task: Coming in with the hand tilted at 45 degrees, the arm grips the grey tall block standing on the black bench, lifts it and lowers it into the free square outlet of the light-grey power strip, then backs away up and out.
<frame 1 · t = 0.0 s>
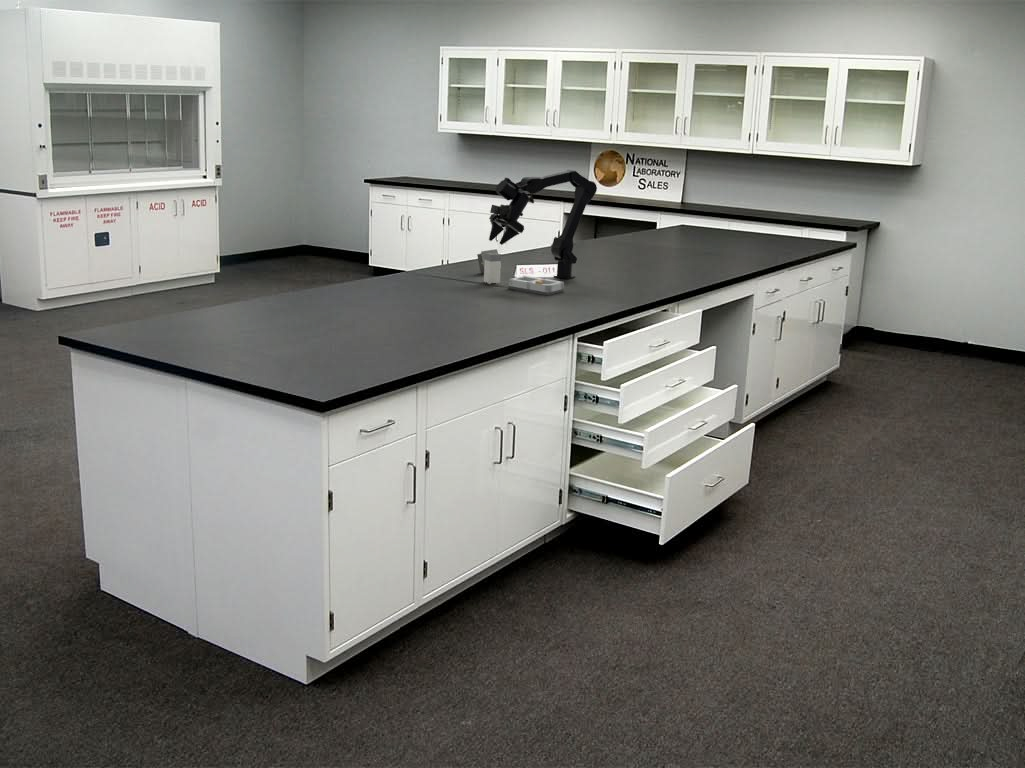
hand: (495, 242, 383), 15 cm above the table, tool tilted 35°, fingers open, 9 cm apart
electrical switch: (488, 273, 405), on the table
grey tall block: (491, 282, 385), on the table
power strip: (535, 289, 374), on the table
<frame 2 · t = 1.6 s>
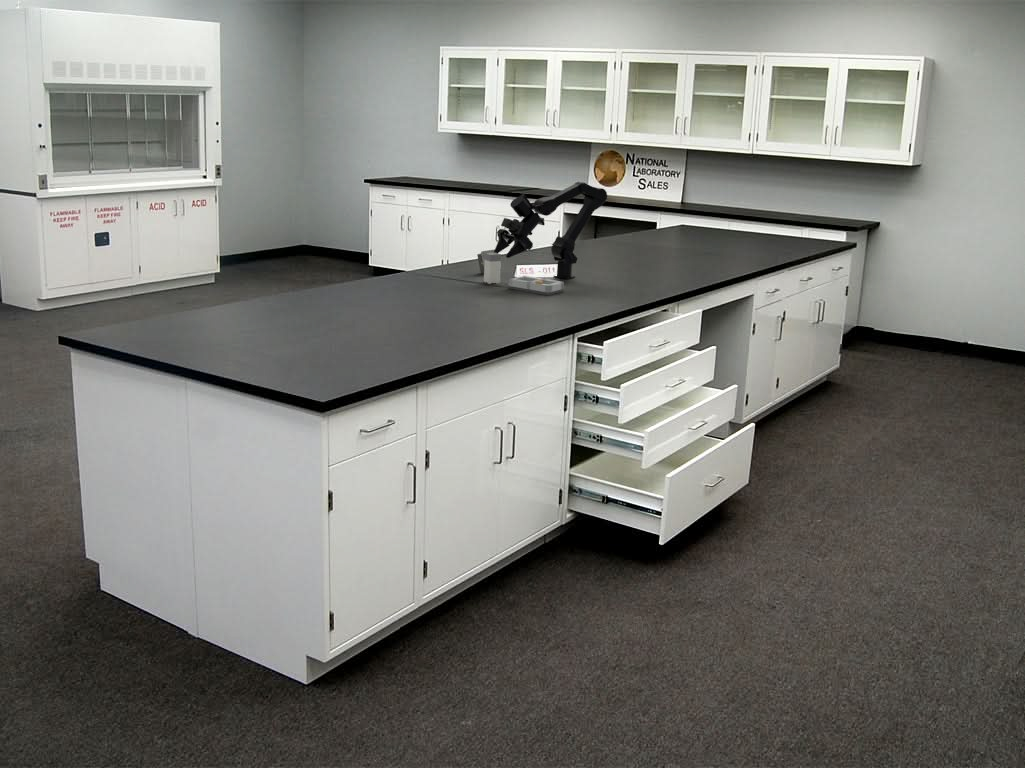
hand: (500, 255, 384), 10 cm above the table, tool tilted 45°, fingers open, 9 cm apart
nothing on the table moved.
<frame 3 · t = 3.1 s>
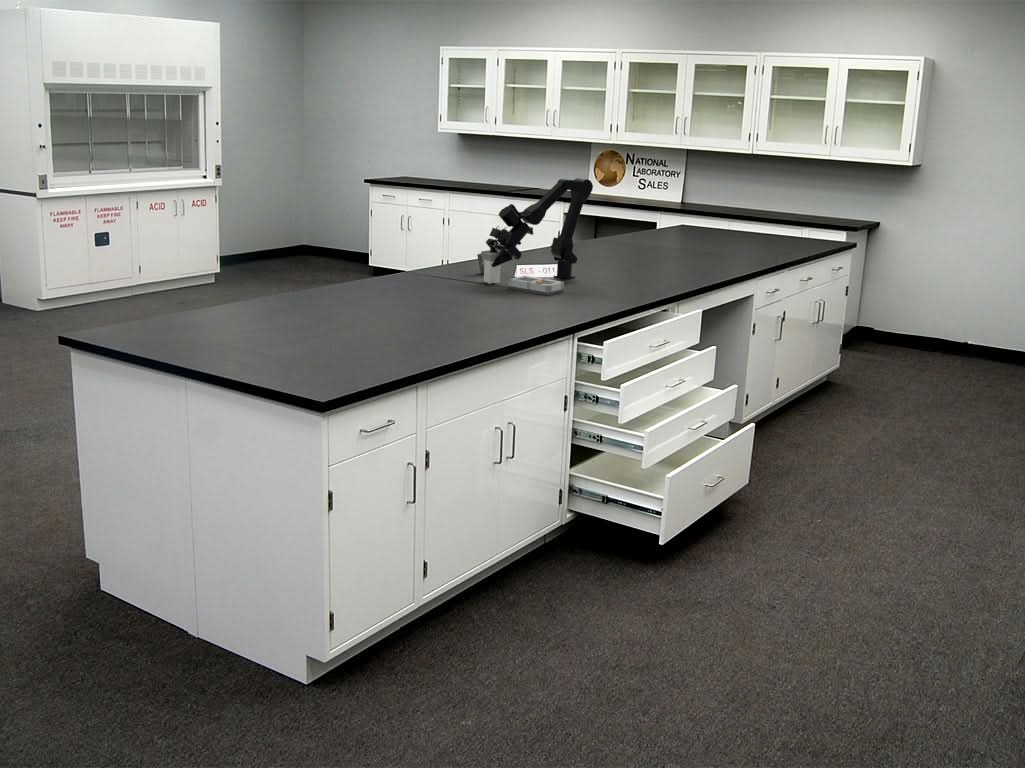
hand: (489, 265, 382), 7 cm above the table, tool tilted 45°, fingers closed on grey tall block, 4 cm apart
grey tall block: (491, 282, 385), on the table, touching gripper
everything else where it was.
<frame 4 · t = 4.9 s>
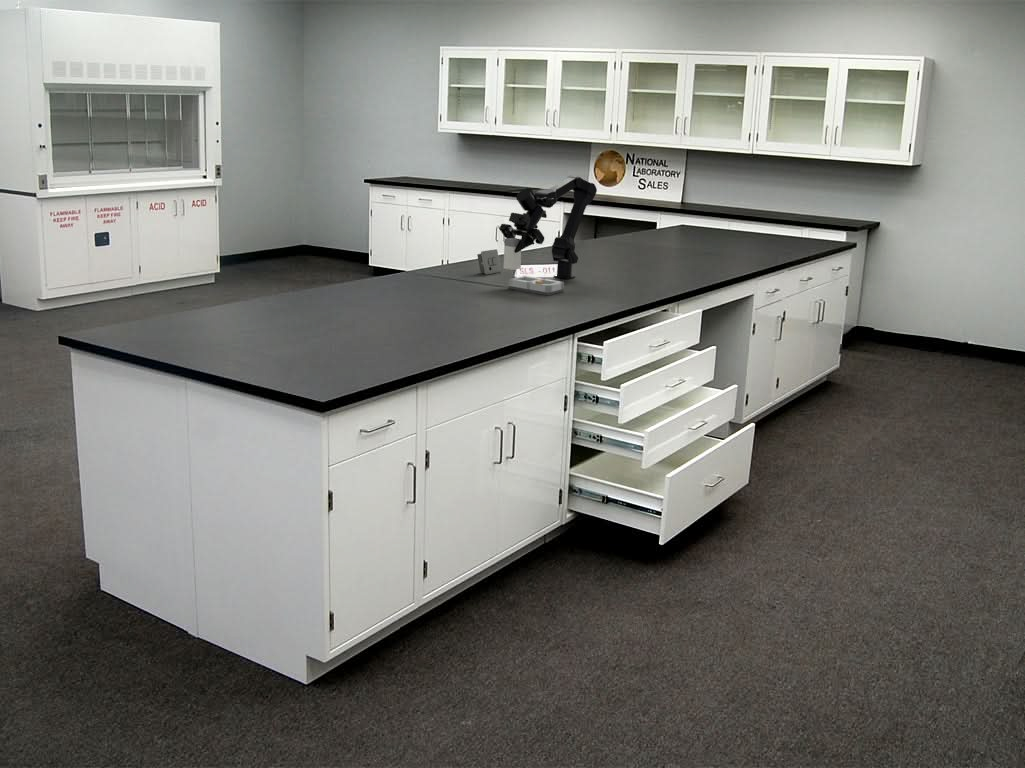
hand: (510, 251, 374), 13 cm above the table, tool tilted 45°, fingers closed on grey tall block, 4 cm apart
grey tall block: (512, 268, 377), point 7 cm above the table, touching gripper
everything else where it was.
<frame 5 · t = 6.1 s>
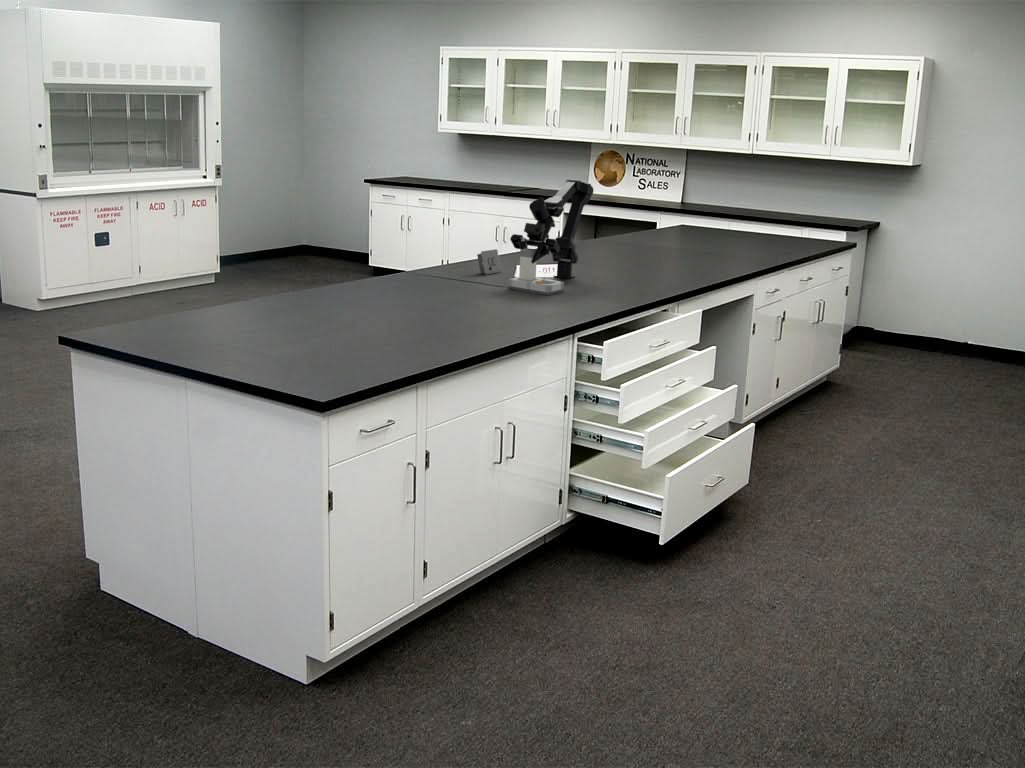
hand: (526, 261, 373), 10 cm above the table, tool tilted 45°, fingers closed on grey tall block, 4 cm apart
grey tall block: (527, 279, 376), point 4 cm above the table, touching gripper
everything else where it was.
when the fingers open (8 cm above the table, at t = 6.8 s): grey tall block stays where it is, resting on power strip.
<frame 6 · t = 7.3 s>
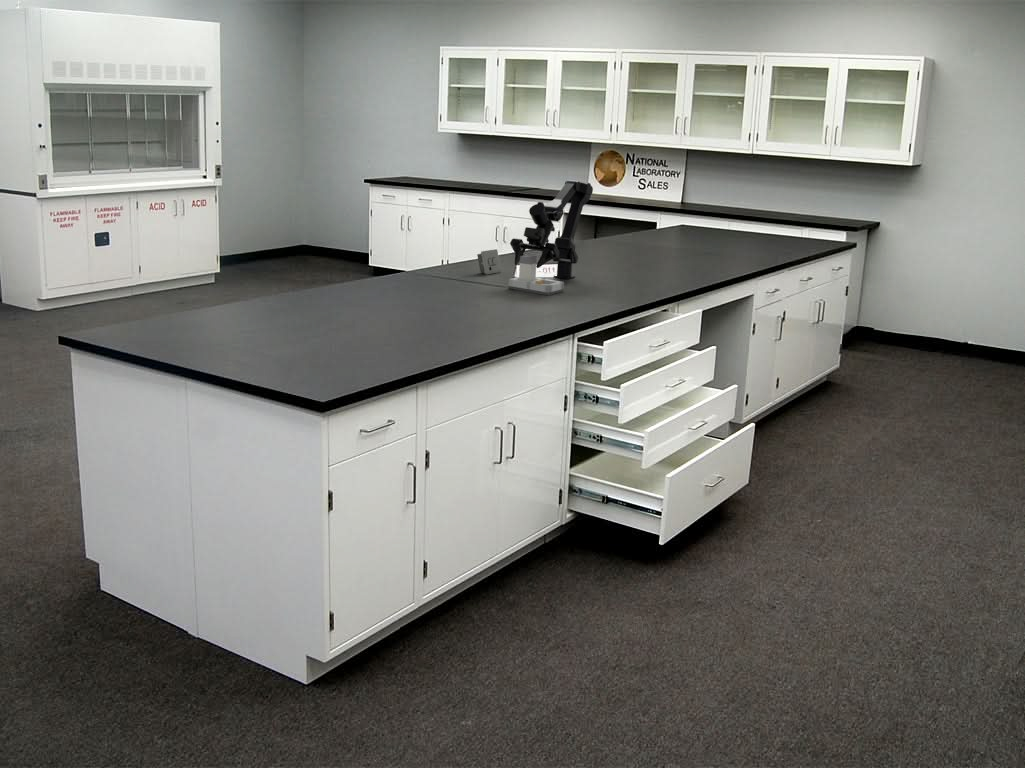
hand: (526, 266, 373), 9 cm above the table, tool tilted 45°, fingers open, 9 cm apart
grey tall block: (527, 285, 376), point 1 cm above the table, touching power strip
everything else where it was.
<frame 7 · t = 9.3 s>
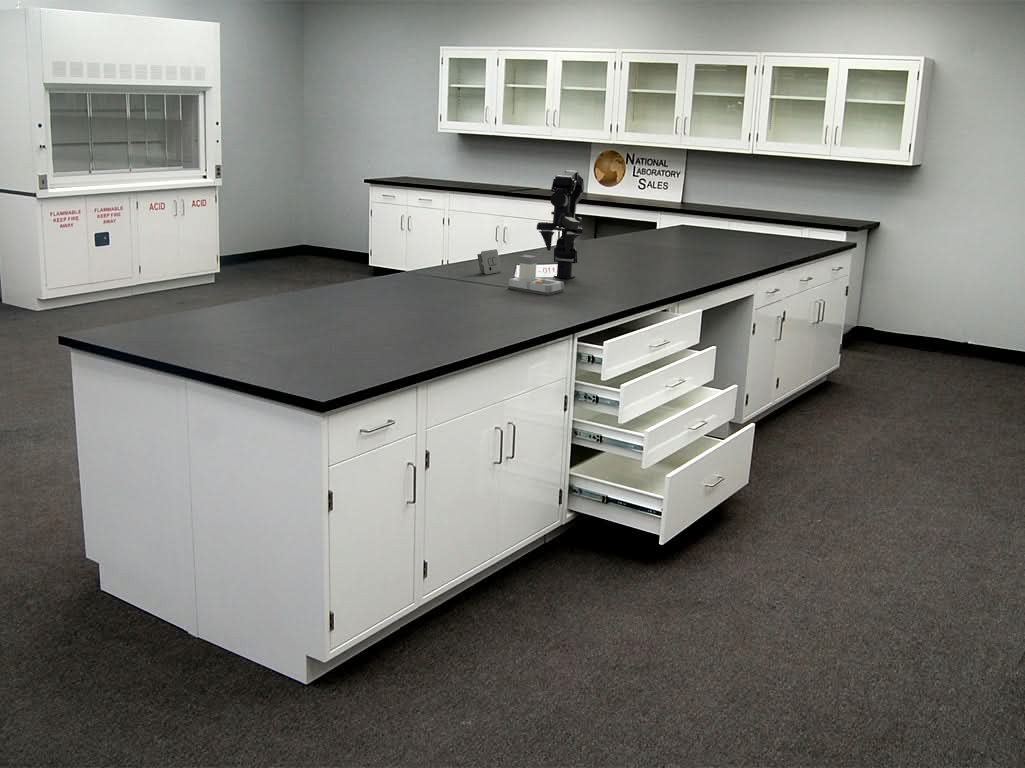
hand: (558, 251, 379), 13 cm above the table, tool pointing down, fingers open, 9 cm apart
nothing on the table moved.
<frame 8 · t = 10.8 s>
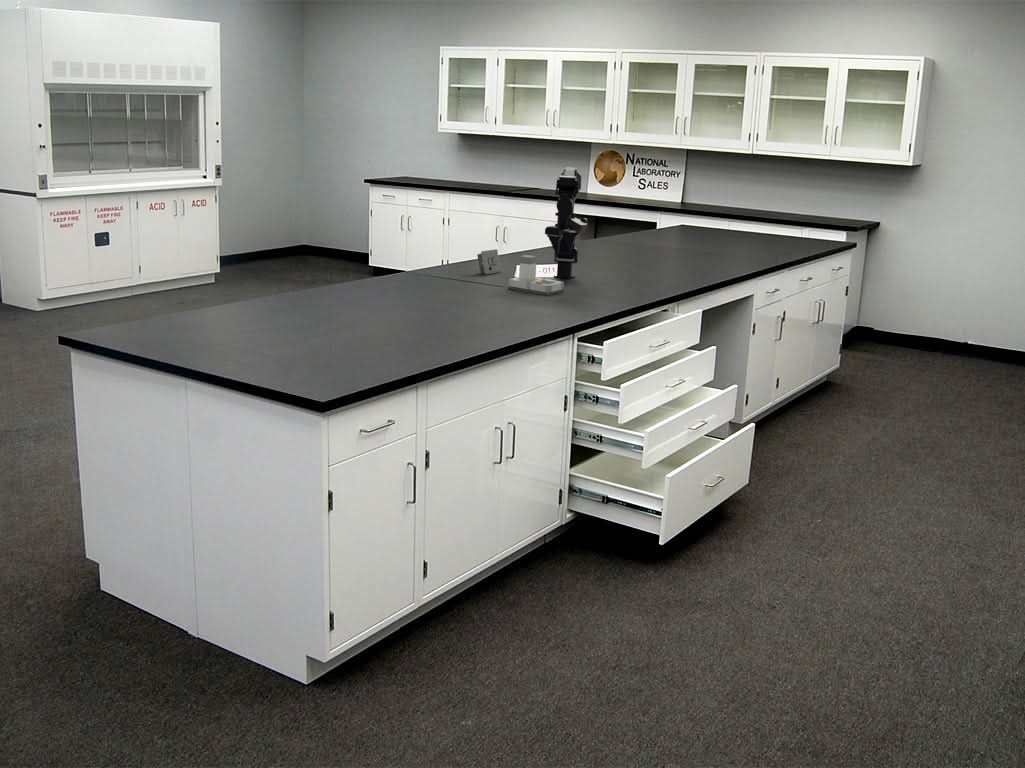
hand: (563, 252, 379), 13 cm above the table, tool pointing down, fingers open, 9 cm apart
nothing on the table moved.
at the end: grey tall block 0.0 cm from the target spot on the power strip, point 1.0 cm above the power strip's base; grey tall block tilted 0°; the gripper is holding nothing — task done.
